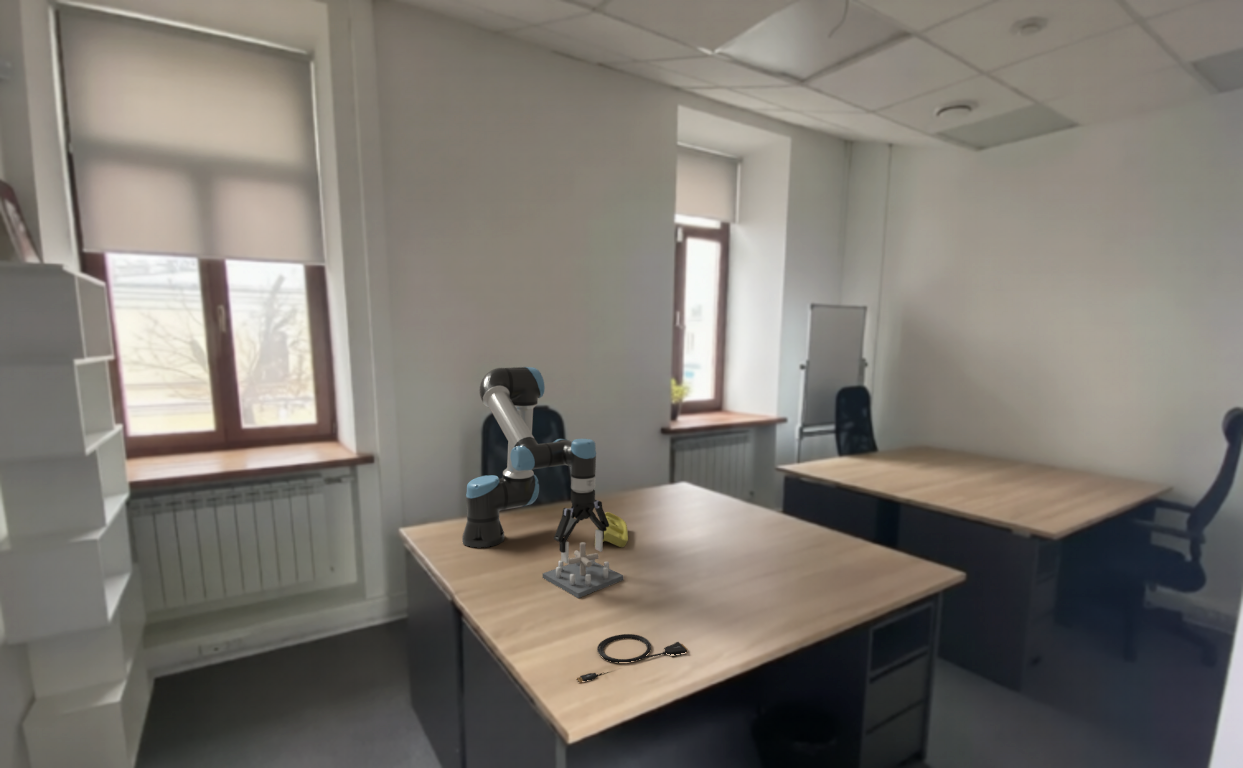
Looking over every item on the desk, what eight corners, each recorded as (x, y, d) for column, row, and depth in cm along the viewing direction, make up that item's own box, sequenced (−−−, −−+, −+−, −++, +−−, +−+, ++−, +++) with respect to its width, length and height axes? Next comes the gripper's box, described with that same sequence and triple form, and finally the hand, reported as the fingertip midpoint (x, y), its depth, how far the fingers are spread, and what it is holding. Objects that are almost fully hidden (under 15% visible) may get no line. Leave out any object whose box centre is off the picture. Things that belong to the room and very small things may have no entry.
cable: (559, 653, 130) (559, 647, 130) (661, 628, 142) (661, 622, 142) (579, 686, 118) (579, 679, 118) (689, 655, 130) (689, 649, 130)
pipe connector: (574, 584, 163) (573, 551, 162) (562, 571, 172) (561, 540, 171) (604, 577, 167) (604, 545, 166) (590, 565, 176) (590, 535, 175)
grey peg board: (542, 578, 170) (542, 564, 170) (586, 562, 182) (586, 549, 182) (578, 598, 157) (578, 583, 156) (623, 579, 169) (623, 566, 169)
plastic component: (628, 542, 195) (603, 530, 194) (619, 559, 196) (594, 548, 195) (626, 520, 214) (603, 509, 213) (618, 536, 215) (595, 525, 214)
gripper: (557, 500, 156) (556, 571, 158) (620, 484, 173) (619, 549, 175) (542, 494, 161) (542, 562, 164) (605, 479, 178) (604, 542, 180)
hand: (582, 555), depth 169 cm, fingers open, 13 cm apart
